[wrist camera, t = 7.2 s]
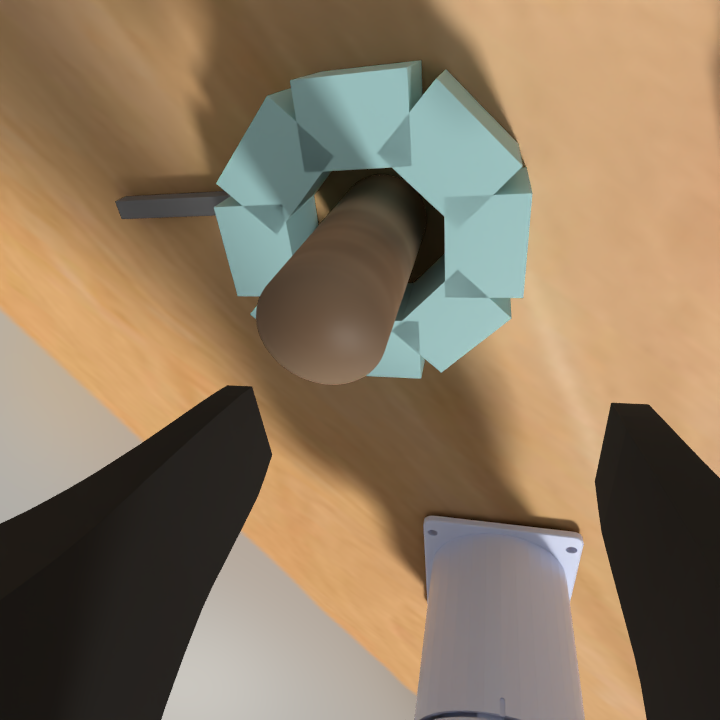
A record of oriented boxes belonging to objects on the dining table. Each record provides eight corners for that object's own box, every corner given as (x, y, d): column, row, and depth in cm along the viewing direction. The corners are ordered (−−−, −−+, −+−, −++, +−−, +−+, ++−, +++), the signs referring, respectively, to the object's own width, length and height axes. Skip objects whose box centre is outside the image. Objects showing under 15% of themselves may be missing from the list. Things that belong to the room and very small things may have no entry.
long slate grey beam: (266, 207, 19) (259, 213, 18) (132, 213, 20) (121, 219, 19) (262, 189, 18) (254, 194, 18) (125, 196, 20) (115, 201, 19)
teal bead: (513, 338, 19) (515, 382, 17) (284, 332, 22) (257, 370, 19) (536, 47, 14) (544, 52, 12) (228, 81, 16) (182, 91, 14)
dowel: (429, 258, 18) (393, 385, 12) (348, 262, 19) (273, 383, 13) (423, 170, 17) (377, 263, 10) (334, 178, 17) (239, 269, 11)
